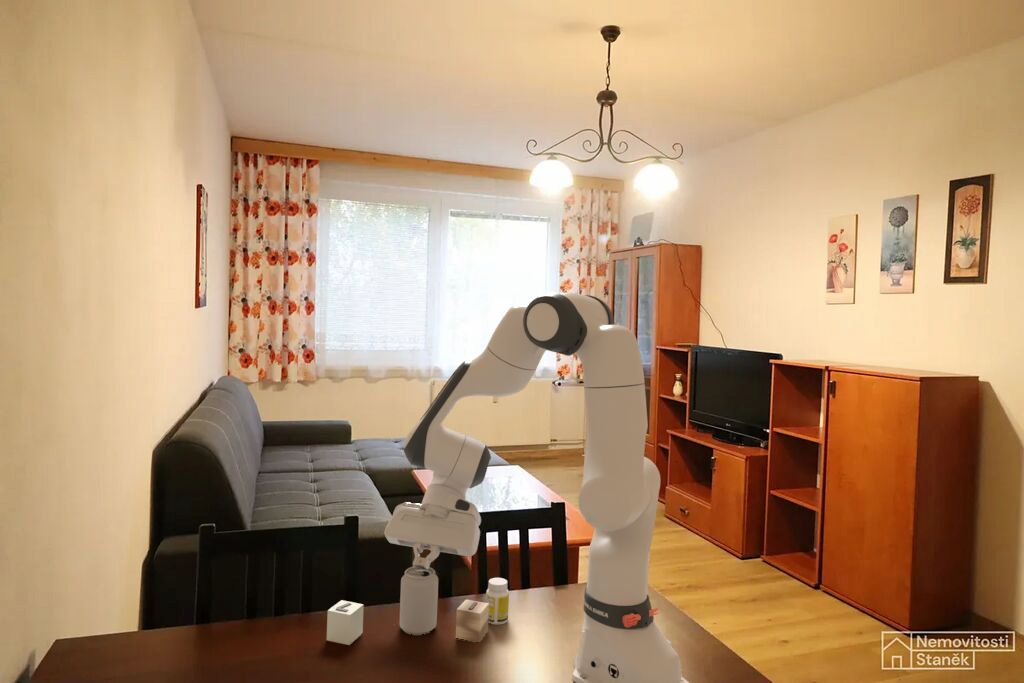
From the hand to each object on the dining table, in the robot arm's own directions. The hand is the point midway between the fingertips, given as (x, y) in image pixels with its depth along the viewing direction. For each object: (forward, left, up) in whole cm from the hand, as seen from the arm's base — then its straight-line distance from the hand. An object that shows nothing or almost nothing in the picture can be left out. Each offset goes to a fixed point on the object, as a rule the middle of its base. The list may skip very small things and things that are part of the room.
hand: (420, 567), depth 138 cm
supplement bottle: (-5, -16, -13) cm, 21 cm away
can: (0, 0, -13) cm, 13 cm away
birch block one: (-8, -8, -13) cm, 17 cm away
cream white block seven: (+4, +14, -13) cm, 19 cm away
